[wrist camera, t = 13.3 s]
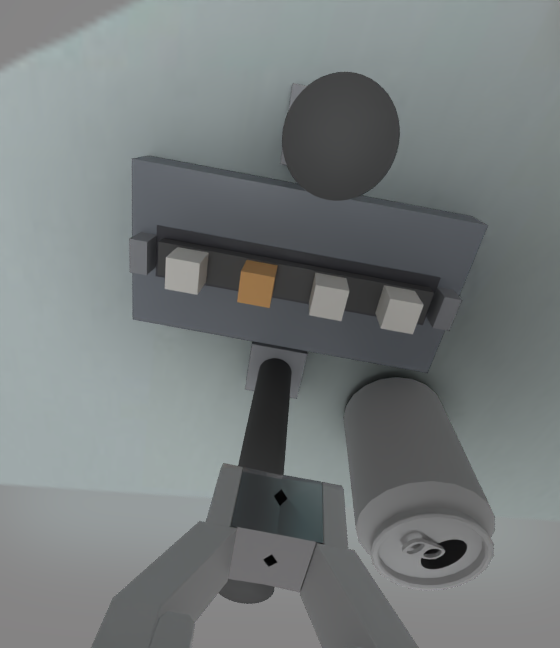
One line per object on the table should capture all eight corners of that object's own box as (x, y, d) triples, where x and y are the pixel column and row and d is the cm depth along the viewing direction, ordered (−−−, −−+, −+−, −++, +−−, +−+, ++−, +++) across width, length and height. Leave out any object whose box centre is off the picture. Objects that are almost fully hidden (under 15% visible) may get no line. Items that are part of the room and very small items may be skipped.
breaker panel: (471, 216, 24) (500, 232, 20) (418, 353, 29) (434, 387, 25) (148, 155, 24) (119, 160, 20) (146, 304, 28) (122, 330, 25)
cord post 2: (364, 98, 22) (472, 42, 7) (347, 174, 23) (405, 251, 9) (293, 85, 22) (258, 1, 7) (281, 162, 23) (234, 219, 9)
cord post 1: (307, 345, 29) (303, 564, 14) (297, 389, 31) (285, 621, 16) (254, 335, 29) (196, 545, 14) (247, 380, 31) (190, 605, 16)
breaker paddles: (430, 287, 23) (444, 306, 21) (419, 317, 24) (431, 339, 22) (163, 238, 23) (145, 251, 21) (162, 270, 24) (144, 286, 21)
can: (396, 459, 33) (437, 617, 23) (324, 418, 32) (330, 566, 21) (461, 401, 30) (543, 552, 19) (383, 353, 29) (426, 487, 18)
